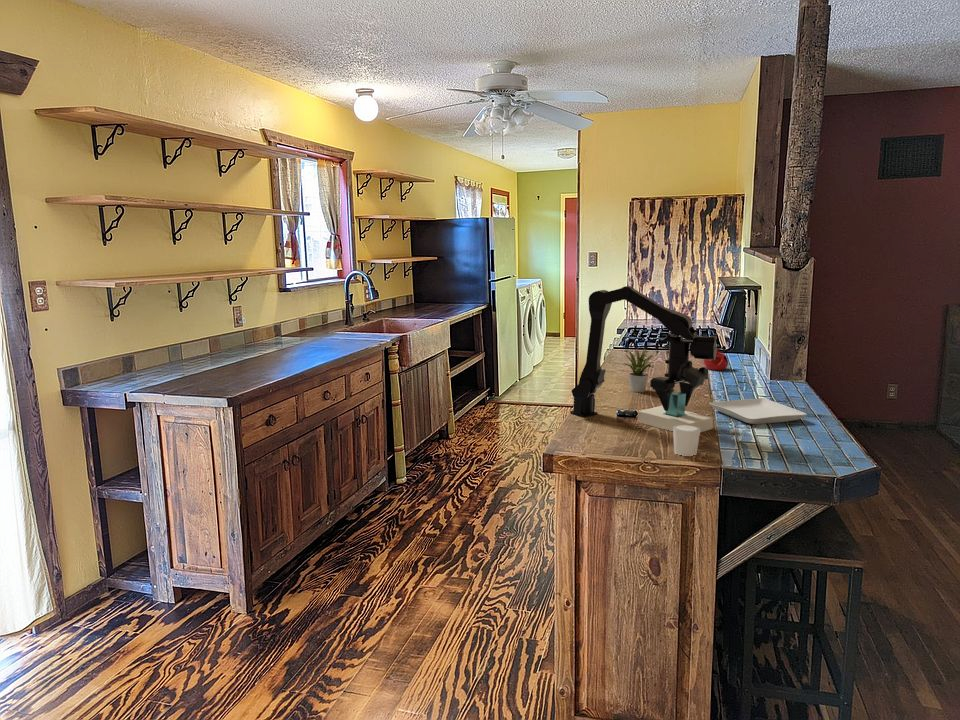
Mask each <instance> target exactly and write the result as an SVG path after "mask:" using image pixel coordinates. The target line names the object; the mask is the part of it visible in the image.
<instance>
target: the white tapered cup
mask: <svg viewBox="0 0 960 720" xmlns="http://www.w3.org/2000/svg"><path fill="white" fill-rule="evenodd" d="M672 434H673V436H672V437H673V453H674V454H675V455H676V454H678V455H677V456H679V455H682V456H681V457H684V456H693V455H697V453H698V447H699V440H700V435H701V432H700V428H699V427H696V426H692V425H675V426H673V432H672ZM693 457H694V456H693Z"/></svg>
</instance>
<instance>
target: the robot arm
mask: <svg viewBox="0 0 960 720" xmlns="http://www.w3.org/2000/svg"><path fill="white" fill-rule="evenodd" d="M624 300H625V301H627V302H628V303H630V304H631V305H633V306H635V307H636V308H638V309H640V310H641V311H643V312H645V313H646V314H648V315H650V316H651V317H653V318H655V319H657V321H659V322H660V323H661V324H662V325H663V326H664V328H665V329H666V330H668V331H669V333H668V334H667V335H666V336H665V337H664V338H663V339H662V342H666V343H669V345H668V359H665V362H664V363H665V364H668V365H667V372H665V373H664V376H655V377H652V378H651V379H650V381H649V387H650V388H652V390H654V391H655V393H656V394H657V395H656V396H657V397H658V398H659V400H660V404H661V406H663V408H664V410H665V411H668V409H669V403H670V395H671V393H672V392H674V391H675V387H676V385H677V384H679V389H680V391H679V392H681V393H685V394H686V401H685V407H688V404H689V402H690V399H691V396H692V395H693V392H694V390H695V389H696V388H698V387H699V386H703V384H704V382H705V381H706V380H708V379H709V376H708V375H709V369H707V368H706V367H705V366H702V367H699V368H698V367H693V361H692V360H690V356H692V357H694V358H693V359H695V360H696V359H697V360H704V359H707V360H715V358H716V352H717V348H718V347H717V337H716V336H714V335H712V336H705V335H704V336H702V335H699V334H698V332H697V331H696V329H695V328H694V326H693V322H692V321H693V320H692V318H691V316H689V315H687V314H685V313H682V312H679V311H677V310H674V309H671V308H667V307H665V306H664V305H663V304H661V303H659V302H657V301H655V300H654V299H652V298H650V297H649V296H647V295H646V294H643V293H642V292H640V291H638V290H637V289H635V288H634V287H633V286H631V285H625V286H623V287H621V288H617V289H614V290H607V289H601V290H595V291H593V292H592V293H591V294H590V295H589V296H588V311H589V315H590V328H589V336H588V343H587V352H586V360H585V361H586V362H585V364H584V367H583V368H582V371H581V373H580V376H579V377H580V378H579V380H578V384H577V385H576V386H574V388H573V389H571V394H572V397H573V410H570V411H569V413H570V412H571V413H570V414H572V415H575V416H580V417H590V416H594V415H597V414H598V411H595V407H596V405H595V403H596V399H595V394H596V392H597V390H598V389H599V388H601V386H602V385H603V383H604V382H605V375H606V369H602V366H601V359H602V351H603V343H604V342H603V341H604V335H605V327H606V320H607V317H608V315H609V313H610V310H611V308H612V304H613V303H616V302H619V301H624Z"/></svg>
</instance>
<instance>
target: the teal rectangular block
mask: <svg viewBox="0 0 960 720" xmlns="http://www.w3.org/2000/svg"><path fill="white" fill-rule="evenodd" d="M685 401H686V394H685V393H681V391H674V392H672V393H671V395H670V403H669V409H668V411H665V415H669V416H673V417H677V418H678V417H682V416H685V411H686V406H685Z"/></svg>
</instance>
